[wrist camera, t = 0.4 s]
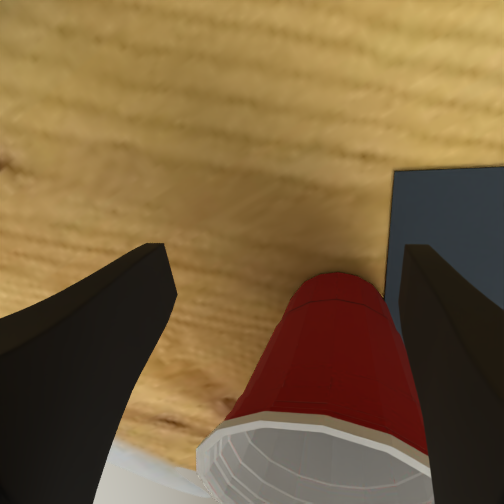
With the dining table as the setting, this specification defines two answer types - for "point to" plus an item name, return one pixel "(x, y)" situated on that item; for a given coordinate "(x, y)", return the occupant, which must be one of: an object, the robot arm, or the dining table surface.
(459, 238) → the mat
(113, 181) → the dining table surface
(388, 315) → the plastic cup
